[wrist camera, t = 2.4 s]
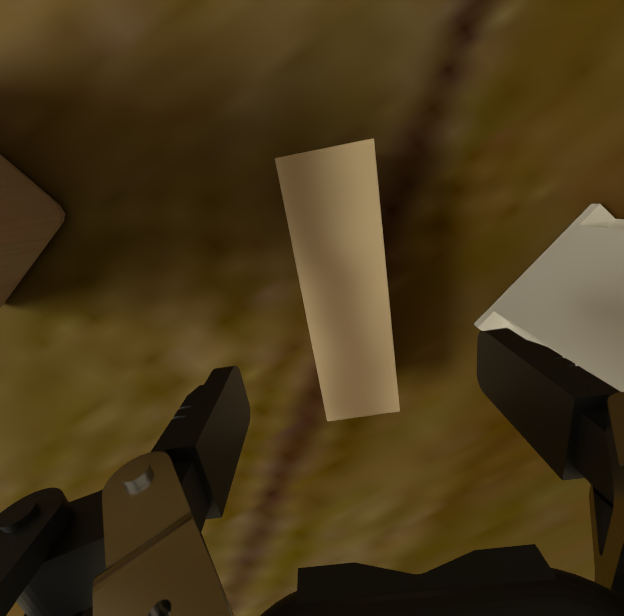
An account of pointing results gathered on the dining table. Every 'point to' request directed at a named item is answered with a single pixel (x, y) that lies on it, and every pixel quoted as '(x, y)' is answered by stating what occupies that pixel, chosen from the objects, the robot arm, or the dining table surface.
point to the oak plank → (342, 275)
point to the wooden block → (22, 225)
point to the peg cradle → (573, 297)
